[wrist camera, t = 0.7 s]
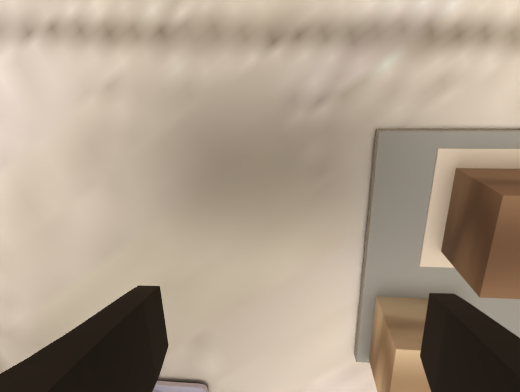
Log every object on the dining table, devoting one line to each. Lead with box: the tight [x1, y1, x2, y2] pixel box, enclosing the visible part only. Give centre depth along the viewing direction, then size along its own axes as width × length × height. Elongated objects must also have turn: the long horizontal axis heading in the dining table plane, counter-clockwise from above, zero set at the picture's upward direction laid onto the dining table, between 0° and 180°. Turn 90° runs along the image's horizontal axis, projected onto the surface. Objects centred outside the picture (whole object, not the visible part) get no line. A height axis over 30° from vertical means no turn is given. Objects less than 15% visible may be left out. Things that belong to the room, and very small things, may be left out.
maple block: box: [369, 296, 431, 392], centre depth 18 cm, size 4×4×4 cm
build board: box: [354, 129, 520, 362], centre depth 19 cm, size 14×11×1 cm
